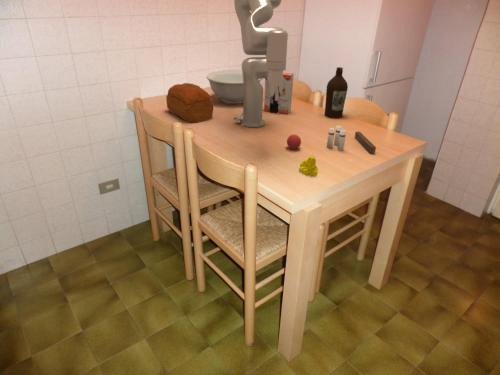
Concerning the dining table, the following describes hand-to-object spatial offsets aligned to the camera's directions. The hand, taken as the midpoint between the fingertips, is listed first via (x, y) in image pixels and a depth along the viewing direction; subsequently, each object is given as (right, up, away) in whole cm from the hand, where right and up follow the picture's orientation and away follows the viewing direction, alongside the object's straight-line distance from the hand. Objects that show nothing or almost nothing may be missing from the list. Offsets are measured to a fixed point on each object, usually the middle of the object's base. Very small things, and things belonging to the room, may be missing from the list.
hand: (273, 112), depth 144 cm
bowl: (-19, +22, +71) cm, 77 cm away
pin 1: (+29, -11, +13) cm, 34 cm away
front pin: (+25, -13, +11) cm, 30 cm away
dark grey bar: (+41, -12, +13) cm, 44 cm away
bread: (-41, +8, +46) cm, 63 cm away
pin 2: (+29, -14, +9) cm, 34 cm away
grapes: (+12, -24, -9) cm, 29 cm away
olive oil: (+35, +8, +49) cm, 61 cm away
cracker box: (+6, +12, +53) cm, 55 cm away
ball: (+9, -11, +8) cm, 16 cm away
